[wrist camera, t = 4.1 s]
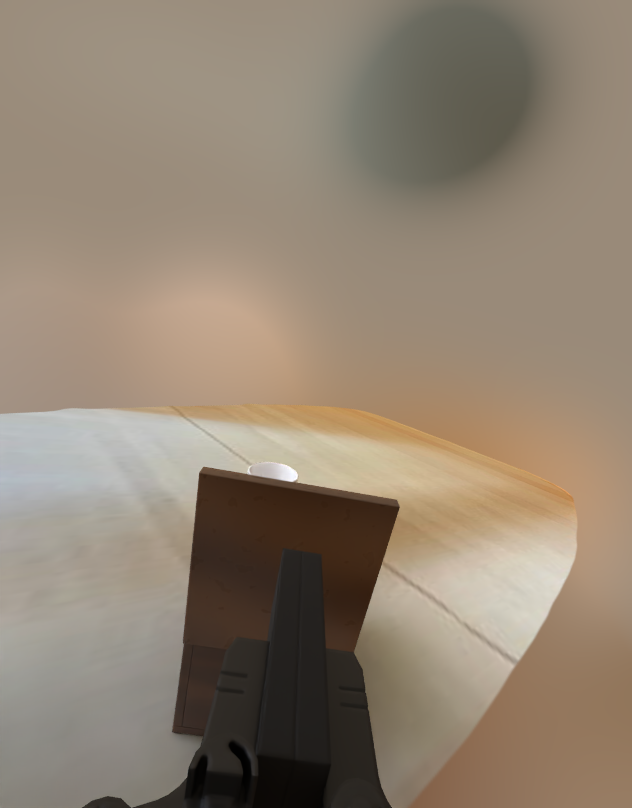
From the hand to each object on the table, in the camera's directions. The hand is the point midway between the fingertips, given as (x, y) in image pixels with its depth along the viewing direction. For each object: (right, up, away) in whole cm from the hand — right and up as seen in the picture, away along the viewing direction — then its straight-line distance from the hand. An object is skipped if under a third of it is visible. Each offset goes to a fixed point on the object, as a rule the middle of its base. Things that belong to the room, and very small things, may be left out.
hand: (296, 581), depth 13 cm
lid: (-1, -5, +11) cm, 12 cm away
